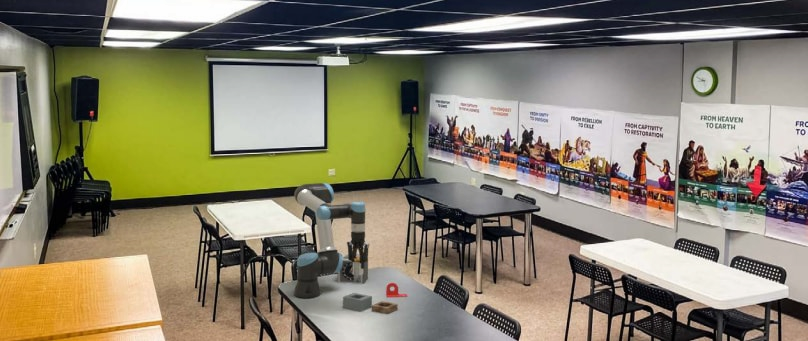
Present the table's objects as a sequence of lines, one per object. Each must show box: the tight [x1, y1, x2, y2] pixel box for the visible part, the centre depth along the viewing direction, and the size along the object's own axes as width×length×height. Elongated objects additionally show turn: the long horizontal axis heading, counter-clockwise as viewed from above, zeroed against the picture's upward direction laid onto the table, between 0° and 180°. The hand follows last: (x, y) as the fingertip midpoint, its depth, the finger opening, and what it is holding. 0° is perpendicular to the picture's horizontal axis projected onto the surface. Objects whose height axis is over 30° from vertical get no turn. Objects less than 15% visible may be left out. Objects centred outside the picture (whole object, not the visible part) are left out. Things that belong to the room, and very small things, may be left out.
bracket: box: [385, 282, 408, 298], centre depth 364 cm, size 12×4×8 cm, turn 96°
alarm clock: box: [337, 253, 369, 285], centre depth 391 cm, size 18×13×18 cm
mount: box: [371, 300, 399, 315], centre depth 339 cm, size 10×10×3 cm
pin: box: [354, 257, 362, 283], centre depth 341 cm, size 5×5×13 cm
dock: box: [342, 292, 373, 312], centre depth 343 cm, size 12×10×6 cm
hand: (357, 274), depth 341 cm, fingers closed on pin, 3 cm apart
